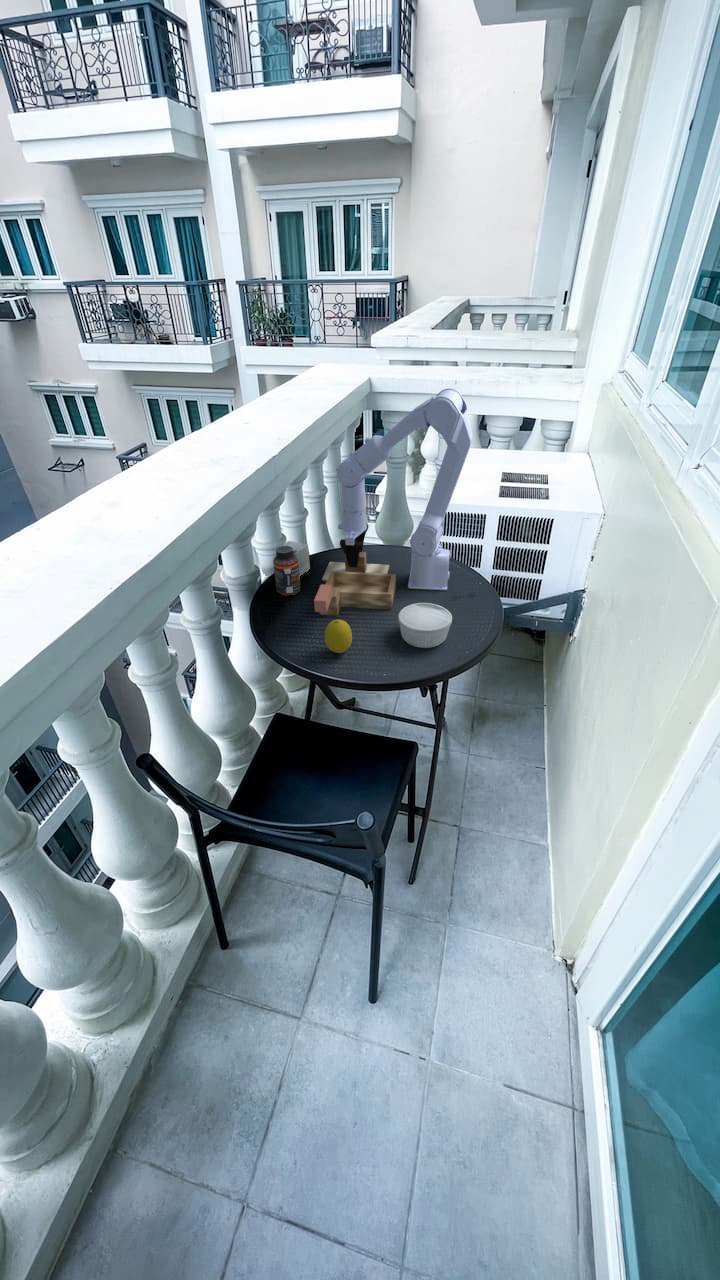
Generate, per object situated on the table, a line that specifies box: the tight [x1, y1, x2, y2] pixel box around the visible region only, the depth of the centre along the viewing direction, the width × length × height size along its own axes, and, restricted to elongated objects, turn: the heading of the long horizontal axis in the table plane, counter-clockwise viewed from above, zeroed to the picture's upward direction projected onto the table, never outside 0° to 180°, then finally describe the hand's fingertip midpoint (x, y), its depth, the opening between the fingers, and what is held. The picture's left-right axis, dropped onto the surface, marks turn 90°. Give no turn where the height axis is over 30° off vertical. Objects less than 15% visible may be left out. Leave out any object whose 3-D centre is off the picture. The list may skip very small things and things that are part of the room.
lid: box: [321, 551, 390, 582], centre depth 139 cm, size 16×10×6 cm, turn 81°
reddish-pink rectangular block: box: [313, 583, 333, 613], centre depth 117 cm, size 2×7×3 cm, turn 172°
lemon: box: [324, 619, 353, 654], centre depth 110 cm, size 6×6×8 cm
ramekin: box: [397, 602, 453, 649], centre depth 115 cm, size 11×11×5 cm
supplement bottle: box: [272, 545, 301, 597], centre depth 131 cm, size 6×6×11 cm
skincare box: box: [281, 540, 311, 577], centre depth 140 cm, size 6×6×7 cm
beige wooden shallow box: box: [319, 571, 397, 617], centre depth 128 cm, size 16×14×5 cm
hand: (355, 559), depth 139 cm, fingers open, 7 cm apart
